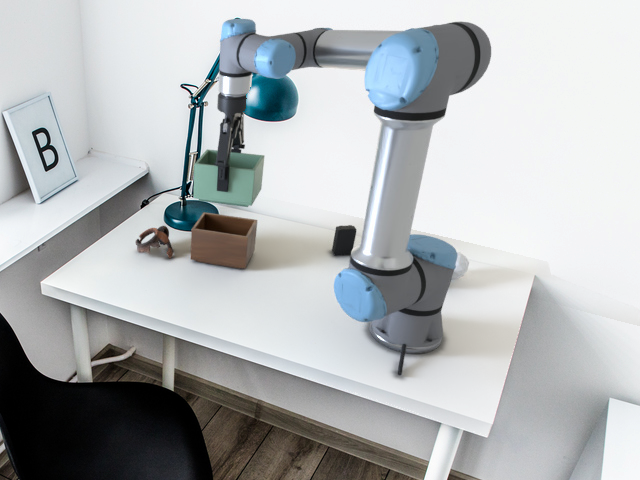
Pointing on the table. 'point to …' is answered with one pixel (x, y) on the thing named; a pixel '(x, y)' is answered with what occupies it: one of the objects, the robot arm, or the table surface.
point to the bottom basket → (223, 240)
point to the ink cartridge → (344, 240)
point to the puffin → (460, 266)
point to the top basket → (241, 179)
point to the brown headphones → (155, 240)
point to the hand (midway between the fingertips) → (228, 182)
